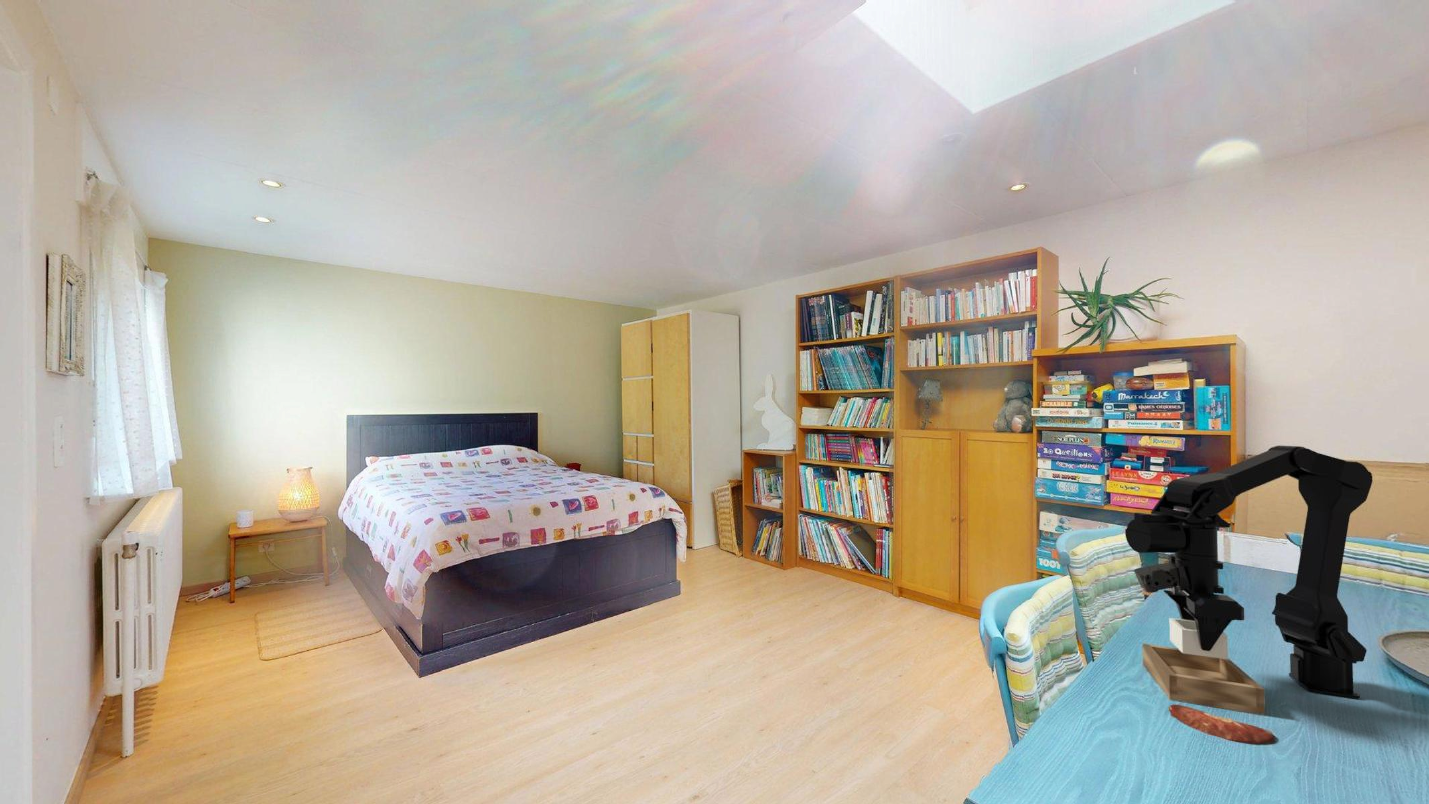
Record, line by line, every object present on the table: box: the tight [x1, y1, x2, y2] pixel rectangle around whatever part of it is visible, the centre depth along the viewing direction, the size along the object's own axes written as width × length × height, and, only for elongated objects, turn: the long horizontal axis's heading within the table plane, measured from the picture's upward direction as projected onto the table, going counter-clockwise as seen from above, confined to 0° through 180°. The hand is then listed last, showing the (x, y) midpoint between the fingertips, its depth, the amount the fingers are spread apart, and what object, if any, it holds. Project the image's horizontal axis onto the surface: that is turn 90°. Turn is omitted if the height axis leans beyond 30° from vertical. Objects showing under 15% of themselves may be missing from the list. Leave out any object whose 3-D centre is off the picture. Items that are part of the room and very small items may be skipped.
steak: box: [1168, 704, 1276, 746], centre depth 83 cm, size 8×2×12 cm
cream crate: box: [1168, 617, 1229, 659], centre depth 96 cm, size 6×6×4 cm
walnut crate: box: [1142, 643, 1266, 716], centre depth 95 cm, size 12×14×4 cm
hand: (1197, 643), depth 95 cm, fingers closed on cream crate, 6 cm apart
